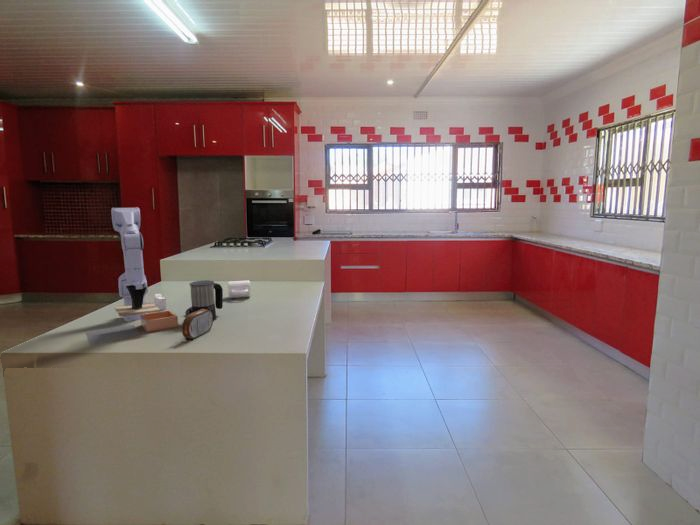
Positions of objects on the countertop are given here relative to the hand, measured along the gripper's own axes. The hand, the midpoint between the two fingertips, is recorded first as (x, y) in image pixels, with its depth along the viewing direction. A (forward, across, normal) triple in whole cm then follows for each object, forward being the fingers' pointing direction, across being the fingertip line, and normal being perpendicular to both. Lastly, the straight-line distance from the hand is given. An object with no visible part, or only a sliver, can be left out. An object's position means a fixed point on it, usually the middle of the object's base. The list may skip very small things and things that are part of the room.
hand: (137, 305), depth 148 cm
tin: (+10, +18, +16) cm, 26 cm away
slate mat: (+9, 0, -8) cm, 12 cm away
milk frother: (+10, -4, +22) cm, 25 cm away
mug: (+10, -27, +47) cm, 55 cm away
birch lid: (+2, 0, 0) cm, 2 cm away
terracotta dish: (+9, 0, +7) cm, 11 cm away
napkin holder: (+10, -32, +13) cm, 36 cm away
